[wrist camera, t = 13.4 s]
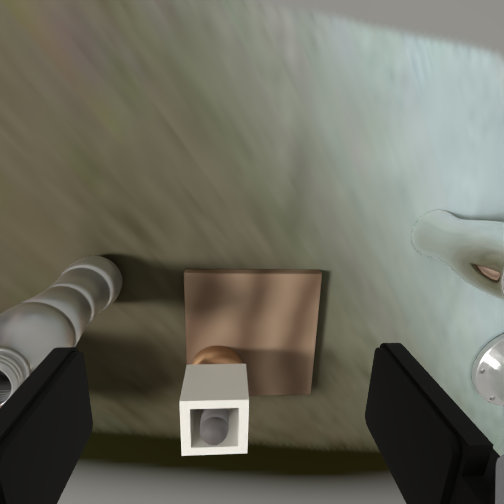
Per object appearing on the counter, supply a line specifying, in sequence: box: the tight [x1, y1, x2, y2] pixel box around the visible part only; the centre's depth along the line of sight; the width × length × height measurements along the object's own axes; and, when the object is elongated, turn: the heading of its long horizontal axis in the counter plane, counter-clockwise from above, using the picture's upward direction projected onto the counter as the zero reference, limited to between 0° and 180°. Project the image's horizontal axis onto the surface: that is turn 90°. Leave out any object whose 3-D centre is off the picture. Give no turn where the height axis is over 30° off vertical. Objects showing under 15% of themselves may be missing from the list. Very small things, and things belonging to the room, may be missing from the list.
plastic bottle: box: [0, 256, 122, 406], centre depth 31 cm, size 6×7×20 cm
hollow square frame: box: [179, 364, 249, 456], centre depth 37 cm, size 7×7×6 cm
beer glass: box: [411, 210, 504, 301], centre depth 35 cm, size 7×7×15 cm
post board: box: [184, 269, 322, 445], centre depth 38 cm, size 17×18×13 cm
